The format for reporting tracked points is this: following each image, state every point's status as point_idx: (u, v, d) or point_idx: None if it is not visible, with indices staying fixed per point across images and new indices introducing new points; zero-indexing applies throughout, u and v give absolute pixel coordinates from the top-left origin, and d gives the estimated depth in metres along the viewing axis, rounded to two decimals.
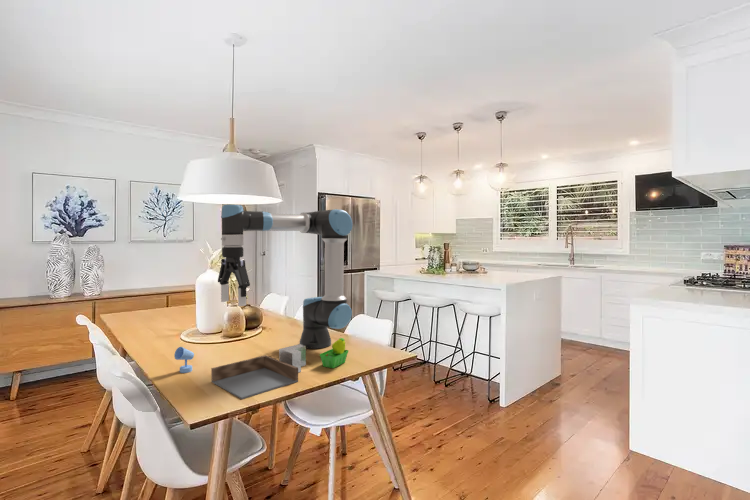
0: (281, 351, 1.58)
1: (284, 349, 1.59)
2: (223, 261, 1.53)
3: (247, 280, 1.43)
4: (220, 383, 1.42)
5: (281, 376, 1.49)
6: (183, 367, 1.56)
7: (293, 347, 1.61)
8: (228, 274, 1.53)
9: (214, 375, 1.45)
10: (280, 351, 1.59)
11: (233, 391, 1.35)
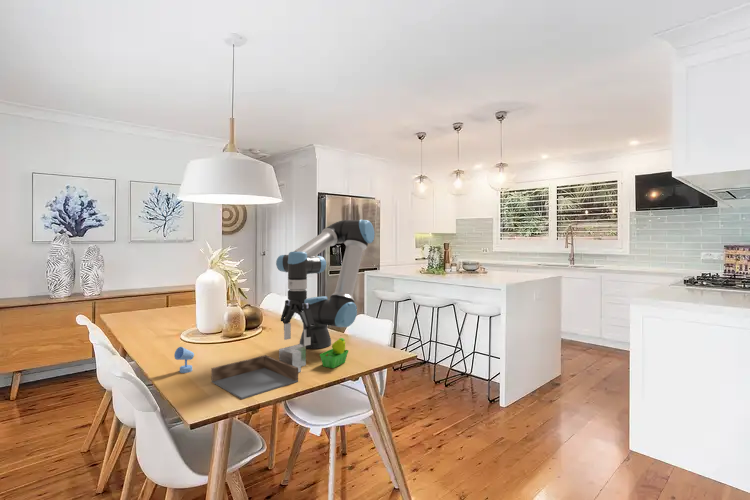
0: (281, 351, 1.58)
1: (284, 349, 1.59)
2: (287, 302, 1.66)
3: (312, 322, 1.57)
4: (220, 383, 1.42)
5: (281, 376, 1.49)
6: (183, 367, 1.56)
7: (293, 347, 1.61)
8: (292, 314, 1.66)
9: (214, 375, 1.45)
10: (280, 351, 1.59)
11: (233, 391, 1.35)
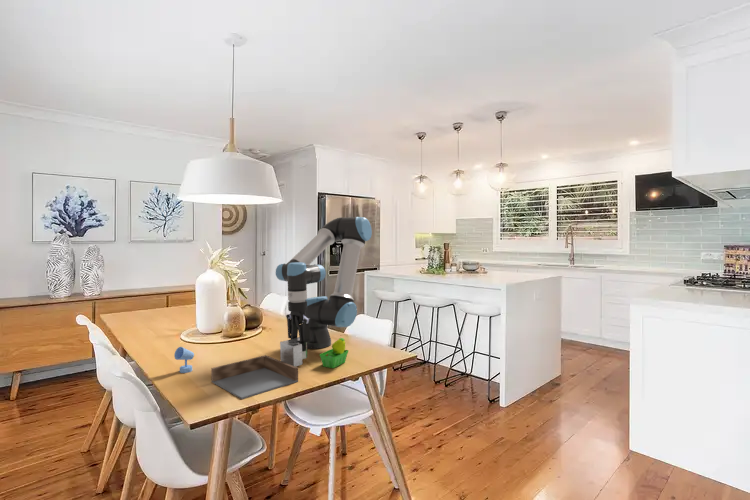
0: (282, 344, 1.59)
1: (285, 342, 1.59)
2: (288, 316, 1.66)
3: (308, 337, 1.60)
4: (220, 383, 1.42)
5: (281, 376, 1.49)
6: (183, 367, 1.56)
7: (294, 340, 1.61)
8: (296, 328, 1.65)
9: (214, 375, 1.45)
10: (281, 344, 1.59)
11: (233, 391, 1.35)
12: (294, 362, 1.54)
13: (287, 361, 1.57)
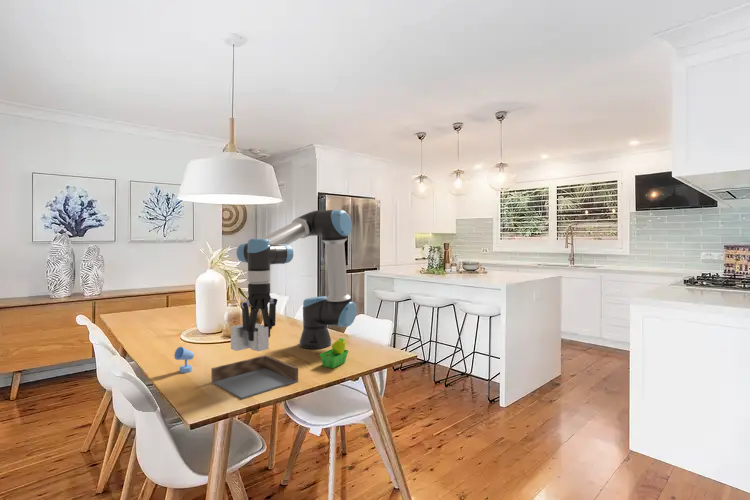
0: None
1: None
2: None
3: (245, 325, 1.38)
4: (220, 383, 1.42)
5: (281, 376, 1.49)
6: (183, 367, 1.56)
7: None
8: (264, 314, 1.43)
9: (214, 375, 1.45)
10: None
11: (233, 391, 1.35)
12: (231, 343, 1.43)
13: None
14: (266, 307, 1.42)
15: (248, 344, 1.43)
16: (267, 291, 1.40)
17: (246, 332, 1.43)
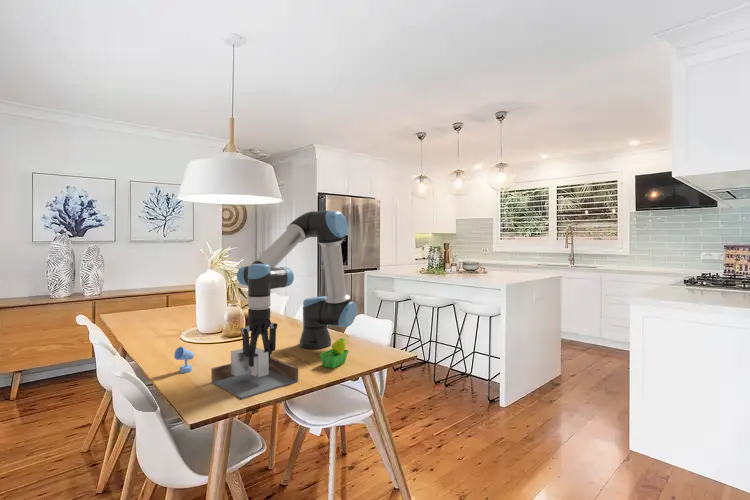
0: None
1: None
2: None
3: (245, 351, 1.38)
4: (220, 383, 1.42)
5: (281, 376, 1.49)
6: (183, 367, 1.56)
7: None
8: (264, 339, 1.43)
9: (214, 375, 1.45)
10: None
11: (233, 391, 1.35)
12: (231, 368, 1.43)
13: None
14: (266, 332, 1.42)
15: (248, 369, 1.44)
16: (267, 317, 1.41)
17: (246, 357, 1.43)
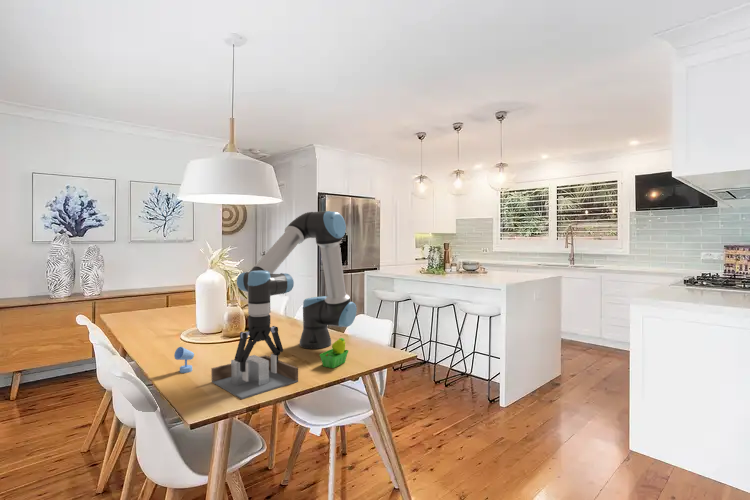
0: None
1: (250, 356, 1.47)
2: None
3: (238, 355, 1.36)
4: (220, 383, 1.42)
5: (281, 376, 1.49)
6: (183, 367, 1.56)
7: (254, 359, 1.44)
8: (268, 344, 1.45)
9: (214, 375, 1.45)
10: None
11: (233, 391, 1.35)
12: (231, 377, 1.43)
13: None
14: (268, 337, 1.43)
15: (249, 377, 1.44)
16: (267, 323, 1.41)
17: None
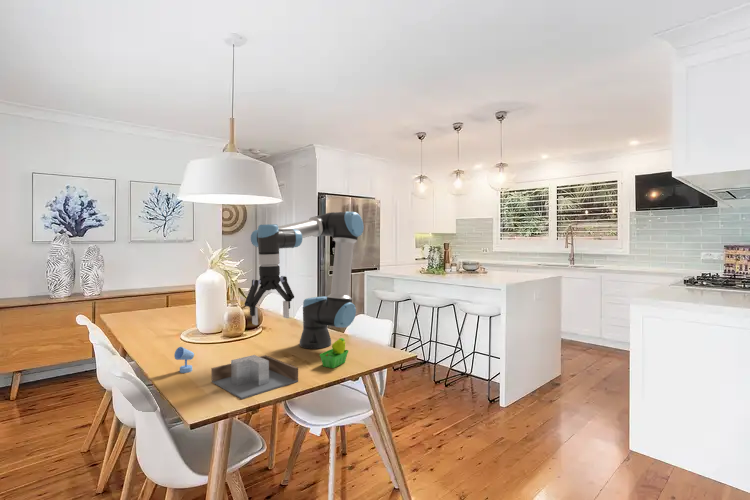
0: None
1: (250, 356, 1.47)
2: None
3: (248, 300, 1.45)
4: (220, 383, 1.42)
5: (281, 376, 1.49)
6: (183, 367, 1.56)
7: (254, 359, 1.44)
8: (280, 292, 1.55)
9: (214, 375, 1.45)
10: None
11: (233, 391, 1.35)
12: (231, 377, 1.43)
13: None
14: (279, 286, 1.53)
15: (249, 377, 1.44)
16: (277, 273, 1.50)
17: (247, 366, 1.43)
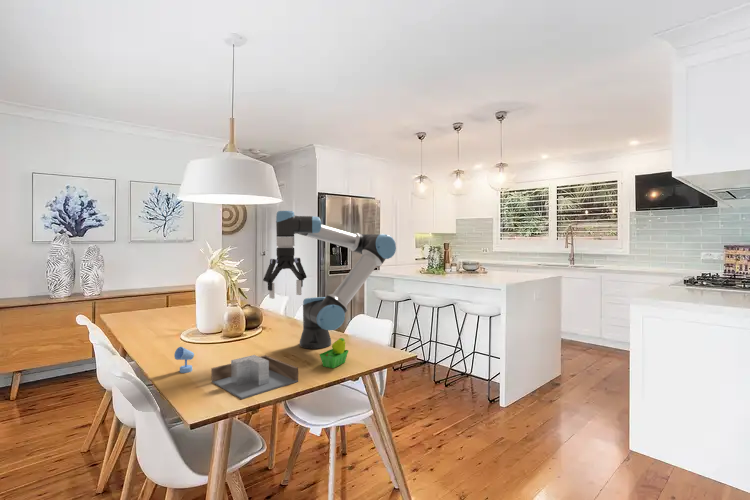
0: None
1: (250, 356, 1.47)
2: None
3: (266, 276, 1.65)
4: (220, 383, 1.42)
5: (281, 376, 1.49)
6: (183, 367, 1.56)
7: (254, 359, 1.44)
8: (294, 271, 1.75)
9: (214, 375, 1.45)
10: None
11: (233, 391, 1.35)
12: (231, 377, 1.43)
13: None
14: (293, 266, 1.73)
15: (249, 377, 1.44)
16: (292, 254, 1.71)
17: (247, 366, 1.43)
